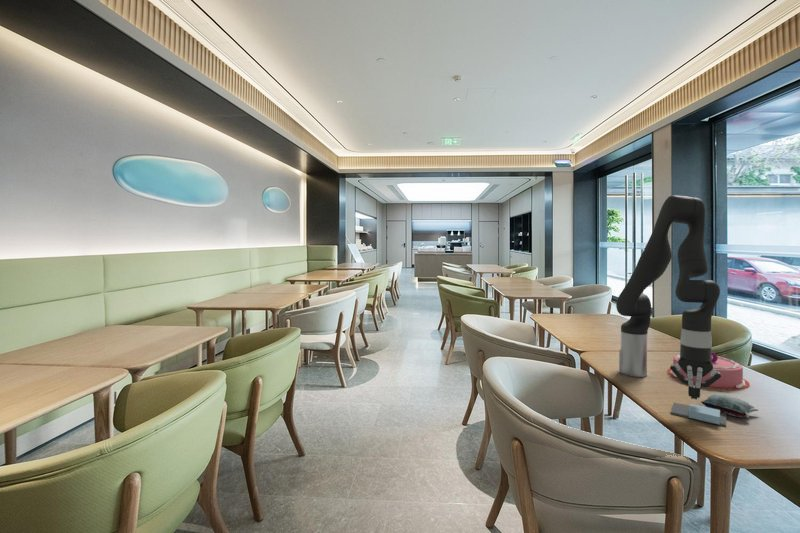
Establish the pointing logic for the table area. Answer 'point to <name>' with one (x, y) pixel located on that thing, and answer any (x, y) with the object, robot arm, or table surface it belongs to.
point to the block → (704, 413)
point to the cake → (728, 370)
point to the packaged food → (729, 405)
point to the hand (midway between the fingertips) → (694, 398)
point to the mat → (684, 411)
